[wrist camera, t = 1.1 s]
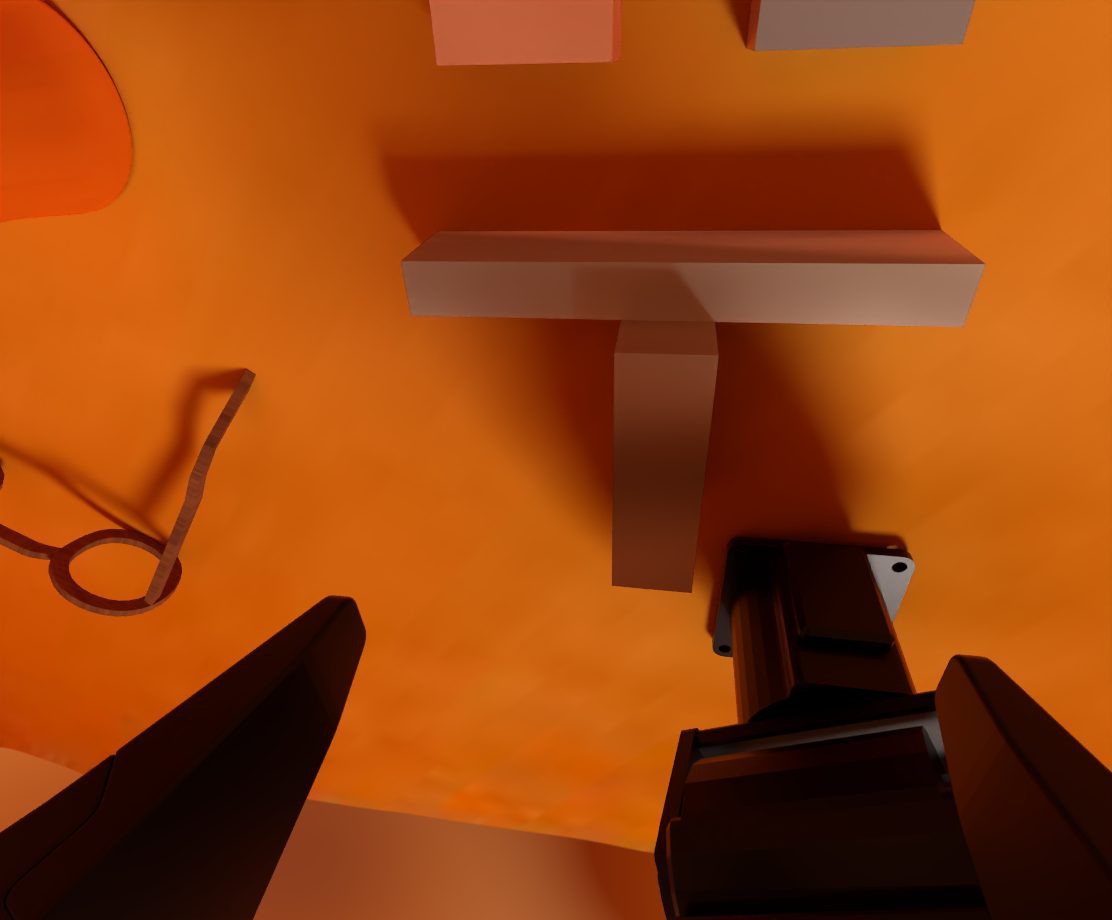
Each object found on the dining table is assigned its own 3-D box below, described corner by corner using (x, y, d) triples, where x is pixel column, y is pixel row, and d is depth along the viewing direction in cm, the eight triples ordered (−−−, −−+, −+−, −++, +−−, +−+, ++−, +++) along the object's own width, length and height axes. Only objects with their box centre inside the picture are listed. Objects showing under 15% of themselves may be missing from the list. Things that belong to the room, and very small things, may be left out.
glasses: (-67, 424, 28) (-193, 491, 24) (-91, 163, 21) (-279, 196, 17) (204, 562, 30) (131, 643, 26) (269, 371, 23) (181, 444, 19)
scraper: (857, 502, 22) (898, 611, 17) (475, 477, 24) (433, 569, 20) (940, 229, 16) (1026, 295, 12) (437, 230, 18) (369, 286, 14)
